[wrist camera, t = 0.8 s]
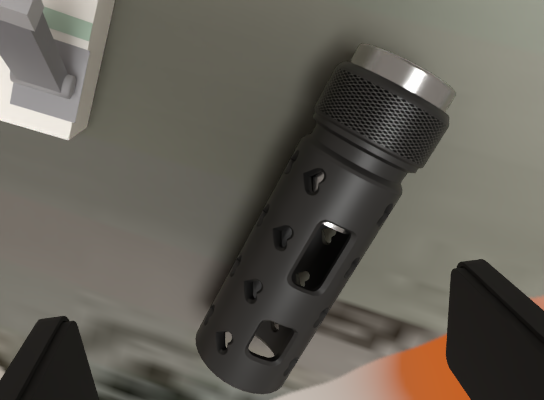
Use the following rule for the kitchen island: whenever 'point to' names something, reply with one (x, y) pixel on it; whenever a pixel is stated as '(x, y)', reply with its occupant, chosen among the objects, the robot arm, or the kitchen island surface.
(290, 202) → the muzzle brake
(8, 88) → the panel
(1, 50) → the lever
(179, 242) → the kitchen island surface
